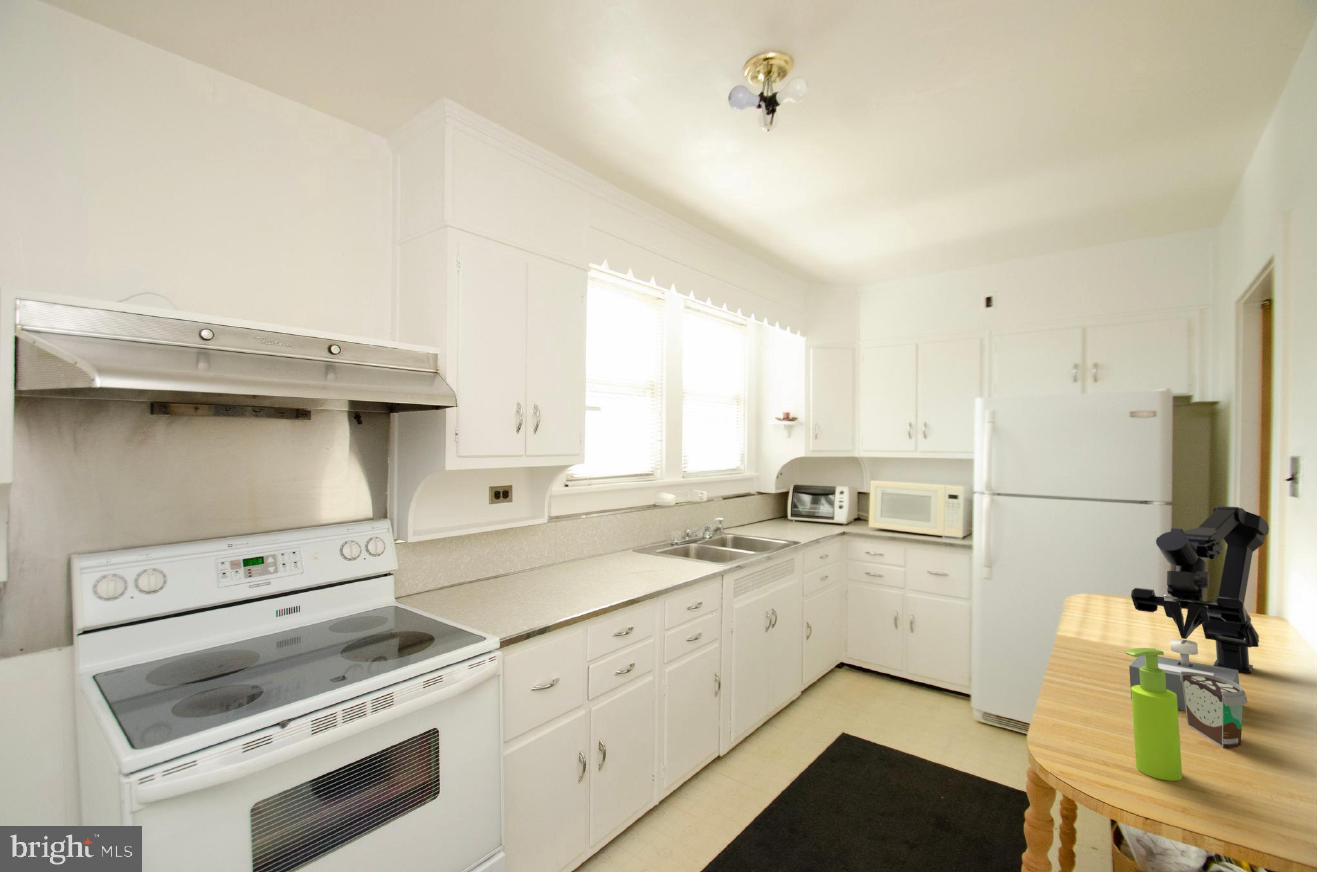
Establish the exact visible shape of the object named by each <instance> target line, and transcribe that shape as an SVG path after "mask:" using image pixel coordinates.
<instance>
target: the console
mask: <svg viewBox="0 0 1317 872" xmlns="http://www.w3.org/2000/svg"><path fill="white" fill-rule="evenodd" d="M1189 664H1190V667H1187V666H1182V665H1181V659H1177V658H1171V657H1164V656H1161V655H1158V668H1160V669H1162V670H1164V671H1165V674H1166V689H1167V690H1170V691H1172V692H1174V693H1175V694H1176V695H1177V706H1178V710H1180V711H1184V712H1186V708H1185V700H1184V692H1183V685H1182V681H1180V674H1181V671H1185V672H1195V673H1202V674H1207V675H1212V676H1216V677H1220V678H1224V679H1227V680H1230V681H1232V682H1235V683H1237V684H1239V685H1240V676H1239V674H1240V673H1239V671H1238V670H1235V669H1229V668H1223V667H1217V666H1214V665H1211V664H1204V663H1200V662H1195V661H1189ZM1128 666H1129V683H1130V685H1129V686H1130V688H1131V687H1132V686H1135V685H1140V672H1139V668H1140V667H1143V666H1145V655H1144V656H1139V657H1135V659H1134V660H1133V661H1132V662H1131V663H1130V664H1129V665H1128ZM1130 700H1132V693H1131V692H1130Z"/></svg>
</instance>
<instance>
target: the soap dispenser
mask: <svg viewBox="0 0 1317 872" xmlns="http://www.w3.org/2000/svg"><path fill="white" fill-rule="evenodd" d="M1124 654H1126V655H1128V656H1131V657H1134V658H1137V657H1139V656H1144V655H1145V666H1143V667H1140V668H1139V672H1140V685H1135V686H1132V687H1131V686H1130V694H1131V693H1132V699H1131V706H1132V721H1133V723H1132V724H1133V737H1134V739H1133V740H1134V751H1135V753H1134V754H1135V767H1136V769H1137V770H1138V771H1139V772H1141V773H1143V774H1144V775H1146V776H1149V777H1152V778H1155V779H1158V780H1163V781H1173V782H1174V781H1180V780H1182V778H1183V768H1182V753H1181V740H1180V739H1181V737H1180V722H1179V721H1180V720H1179V711H1178V710H1179V709H1178V706H1177V695H1176V694H1175V693H1174V692H1172V691H1170V690H1167V689H1166V674H1165V671H1164V670H1162V669H1160V668H1158V656H1165V654H1164V651H1162V650H1161V649H1156V648H1153V647H1136V648H1131V649H1127V650H1125V651H1124Z"/></svg>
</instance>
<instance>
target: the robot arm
mask: <svg viewBox="0 0 1317 872" xmlns="http://www.w3.org/2000/svg"><path fill="white" fill-rule="evenodd" d="M1212 511H1213V512H1212V513H1211V514H1210V515H1209V516H1208V517H1207V518H1206V519H1205V520H1204V521H1203V522H1202V523H1200V525H1199V526H1197V527H1196V528H1191V529H1185V530H1183V528H1176V527H1175V528H1173V527H1172V528H1171V529H1170V531H1168V532H1164V533H1162V534H1160V535H1159V536H1158V537H1156V539H1155V544H1156V546H1157V547H1158V549H1159V551H1160V552H1161V554H1162V555H1163V557H1164V558H1165V560H1166V561H1167V562H1168V563H1169V564H1170V565H1172V570H1167V571H1166V586H1167V588H1166V589H1167V590H1166V591H1167V594H1164V595H1163V596H1157V594H1156V593H1155V589H1150V588H1143V587H1142V588H1141V587H1134V588H1133V589H1132V590H1131V594H1130V597H1131V601H1132V604H1133V606H1134V609H1135V610H1137V611H1138V612H1139V611H1140V612H1145V613H1155V612H1157V611H1158V608H1159V607H1163V610H1164V613H1165V616H1166V617H1167V618H1170V619H1172V621H1173V622H1174V623H1175V625H1176V628H1177V629H1178V632H1179V635H1180V638H1181V639H1182V640H1188V638H1189V637H1190V635H1191V634H1192V633H1193V632H1194V631H1195V630H1196V629H1197V628H1199V627H1200V626H1202V631H1203V635H1204V638H1205V640H1211V641H1215V649H1216V652H1215V653H1216V660H1215V661H1214V663H1213V666H1217V667H1223V668H1229V669H1235V670H1238V672H1240V673H1247V674H1252V670H1253V668H1254V664H1250V658H1249V657H1250V656H1249V648H1259V647H1260V646H1259V645H1260V644H1259V642H1260V639H1259V638H1260V635H1259V634H1258V632H1257V631H1256V629H1255V627H1254V625H1253V624H1252V618H1251V616H1250V614H1249V613H1248V611H1247V609H1246V608H1245V601H1246V600H1245V599H1246V594H1247V587H1248V582H1249V575H1250V571H1251V565H1252V559H1253V553H1254V552H1255V551H1256V550H1257V549H1258V548H1260V547H1261V546H1262V545H1264V543H1265V540H1266V536H1268V534H1269V529H1270V528H1269V523H1268V522H1267V520H1265V519H1264V518H1263V517H1262V516H1260V515H1258V514H1256V513H1253V512H1249V511H1246V510H1245V509H1244V508H1242V507H1239V506H1224V505H1222V506H1221V505H1220V506H1215V507H1214V508H1213V510H1212ZM1222 541H1224V542H1225V544H1226V550H1225V556H1224V562H1223V567H1222V573H1221V578H1220V582H1219V583H1220V584H1219V589H1218V594H1217V598H1216V599H1214V600H1208V601H1205V589H1209V588H1210V574H1209V572H1208V571H1207V563H1206V561H1205V560H1216V559H1217V558H1218V557H1219V556H1220V555H1221V554H1222V551H1223V550H1224V549H1223V548H1224V547H1223V546H1222ZM1182 610H1187V614H1186V617H1185V618H1184V614H1183V611H1182ZM1184 619H1185V620H1184Z"/></svg>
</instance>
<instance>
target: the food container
mask: <svg viewBox="0 0 1317 872" xmlns="http://www.w3.org/2000/svg"><path fill="white" fill-rule="evenodd" d="M1180 681H1182V685H1183V692H1184V700H1185V708H1186V711H1185V713H1186V721H1187V727H1189V728H1191V729H1193V730H1194V731H1196V732H1198V733H1199V734H1200V735H1202V736H1204V737H1205V738H1207V739H1208V740H1210V741H1211V742H1213V743H1214V744H1216V745H1217V746H1219V747H1220V748H1222V749H1235V748H1239V747H1241V746H1242V734H1243V733H1242V731H1243V730H1242V729H1243V728H1242V727H1243V706H1244V705H1246V704H1248V701H1249V700H1248V697H1247V695H1246V691H1245V690H1244V689H1243V687H1242V686H1241V685H1240V683H1239V684H1237V683H1235V682H1232V681H1230V680H1227V679H1224V678H1220V677H1216V676H1212V675H1207V674H1202V673H1195V672H1185V671H1181V674H1180Z"/></svg>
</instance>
